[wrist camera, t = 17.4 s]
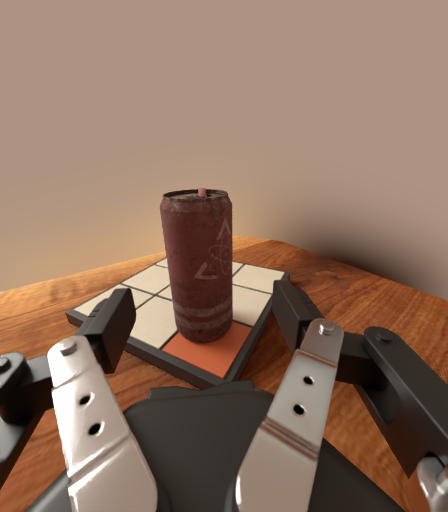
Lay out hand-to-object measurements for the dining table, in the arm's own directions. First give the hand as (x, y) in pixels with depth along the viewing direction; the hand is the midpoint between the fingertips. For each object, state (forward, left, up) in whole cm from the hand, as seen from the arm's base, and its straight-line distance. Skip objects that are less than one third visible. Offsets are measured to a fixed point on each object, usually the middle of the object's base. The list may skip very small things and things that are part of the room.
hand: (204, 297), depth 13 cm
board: (-11, +13, -11) cm, 20 cm away
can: (-5, +7, -10) cm, 13 cm away
